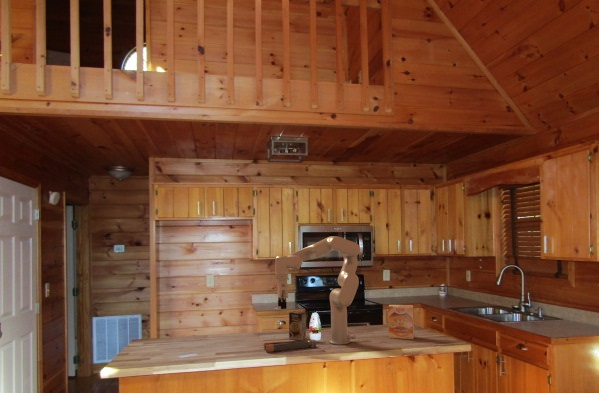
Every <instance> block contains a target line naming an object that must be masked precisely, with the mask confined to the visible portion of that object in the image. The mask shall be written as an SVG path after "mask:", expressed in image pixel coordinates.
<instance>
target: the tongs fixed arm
mask: <svg viewBox="0 0 599 393" xmlns="http://www.w3.org/2000/svg"><path fill="white" fill-rule="evenodd" d="M310 340H311V341H312V347H311V348H312V349H313V348H317V341H316V339H310ZM300 341H307V340H306V339H304V340H288V341H285V340H284V341H272V342H267V341H266V342H263V350H264V351H266V345H270V344H281V343H290V342H300Z"/></svg>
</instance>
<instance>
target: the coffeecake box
mask: <svg viewBox="0 0 599 393" xmlns="http://www.w3.org/2000/svg"><path fill="white" fill-rule="evenodd" d="M387 308H388V309H387V314H388V338H389V339H403V340H414V338H415V326H414V325H415V323H414V322H415V321H414V305H411V304H410V305H408V304H407V305H406V304H405V305H404V304H389V305H388V306H387Z"/></svg>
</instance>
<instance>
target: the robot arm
mask: <svg viewBox="0 0 599 393" xmlns="http://www.w3.org/2000/svg"><path fill="white" fill-rule="evenodd" d="M333 251H335V252H339V253H341V255H342V256H343V264H342V267H341V270H340V272H339V274H338V277H337V284H338V286H340V287H341V288H334V289H332V290H331V292H330V293H329V303H330V324H331V325H330V326H331V327H330V329H331V331H330V332H331V334H330V335H331V336H330V337H331V338H330V339H329V340H328V343H329V344H332V345H348V344H350V343H351V340H354V339H356V335H355V334H353V335H352V334H348V310H347V307H349V306H351V304H352V302H353V300H354V298H355V296H356V293H357V290H358V288H359V285H360V284H359V282H360V281H359V280H360V279H359V277H358V275H357V274H356V273H357V272H356V271H357V268H358V263H359V262H358V255H359V254H360V253H361V247H360V245H359V244H358V243H357V242H355V241H352V240H349V239H346V238H343V237H342V236H341V237H340V236H338V235H337V236H336V235H335V236H334V235H333V236H328V237H326V238H324V239H321V240H319V241H318V242H315V243H313V244H311V245H309V246H308V245H307V247H304V248H302V249H299V250H296V251H294V252H293V253H290V254H288V255H287V256H286V255H279V256H278V255H277V256H276V257H275V260H274V265H275V266H274V267H275V269H274V271H275V272H274V274H275V275H274V276H275V279H274V280H275V281H276V284H277V285H276V286H277V288H276V292H277V306H278V307H280V309H281V310H286V309H287V307H288V306H287V304H288V302H287V298H289V289H288V287H289V286H288V281H289V269H298V268H301V266H302V265H303V262H307V261H309V260H315V259H316V260H317V259H318V258H321V257H323V256H324V255H326V254H328V253H331V252H333Z"/></svg>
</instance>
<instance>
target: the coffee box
mask: <svg viewBox="0 0 599 393" xmlns="http://www.w3.org/2000/svg"><path fill="white" fill-rule="evenodd" d="M288 330H289V331H288V334H289V335H288V339H289V340H293V341H300V340H306V339H307V312H305V311H304V312H303V311H290V312H288Z"/></svg>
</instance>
